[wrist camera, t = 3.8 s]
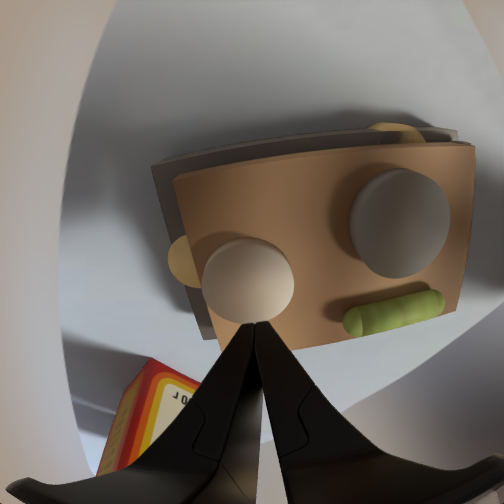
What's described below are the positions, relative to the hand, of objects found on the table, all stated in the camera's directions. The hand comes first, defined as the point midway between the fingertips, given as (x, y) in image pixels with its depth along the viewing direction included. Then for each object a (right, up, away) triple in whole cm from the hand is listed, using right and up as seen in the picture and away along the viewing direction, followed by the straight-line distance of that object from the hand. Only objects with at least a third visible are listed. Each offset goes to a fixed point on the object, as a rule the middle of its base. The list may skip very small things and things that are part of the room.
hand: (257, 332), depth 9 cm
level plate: (+4, +3, +4) cm, 7 cm away
